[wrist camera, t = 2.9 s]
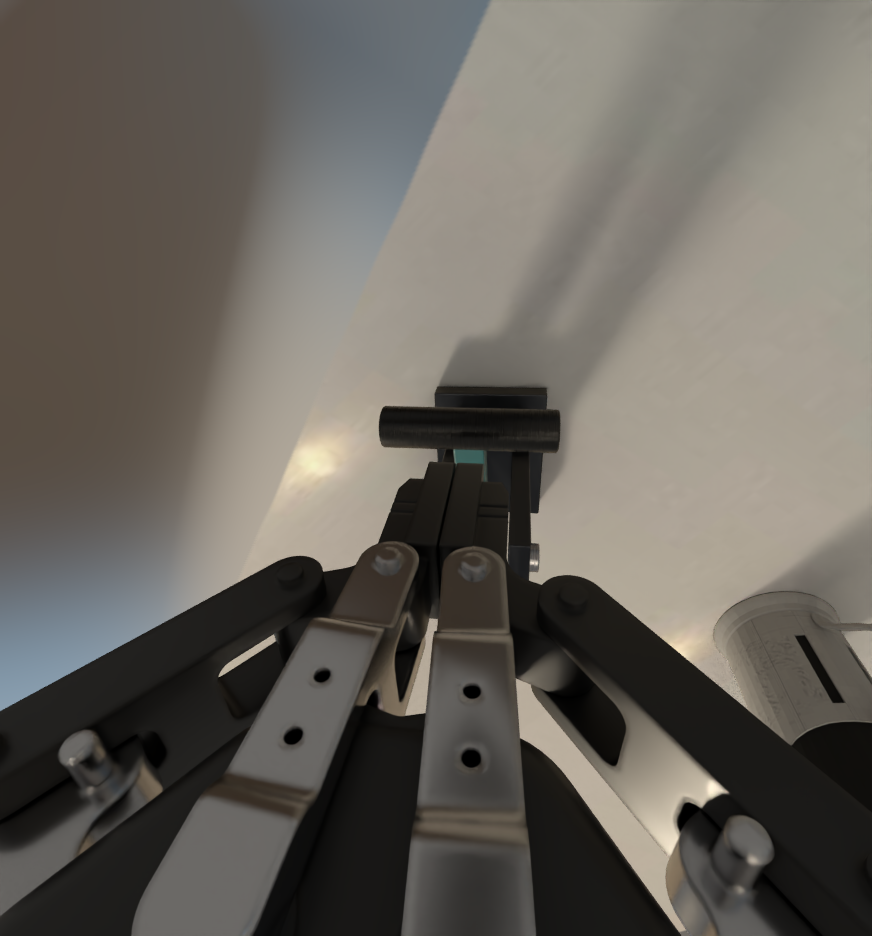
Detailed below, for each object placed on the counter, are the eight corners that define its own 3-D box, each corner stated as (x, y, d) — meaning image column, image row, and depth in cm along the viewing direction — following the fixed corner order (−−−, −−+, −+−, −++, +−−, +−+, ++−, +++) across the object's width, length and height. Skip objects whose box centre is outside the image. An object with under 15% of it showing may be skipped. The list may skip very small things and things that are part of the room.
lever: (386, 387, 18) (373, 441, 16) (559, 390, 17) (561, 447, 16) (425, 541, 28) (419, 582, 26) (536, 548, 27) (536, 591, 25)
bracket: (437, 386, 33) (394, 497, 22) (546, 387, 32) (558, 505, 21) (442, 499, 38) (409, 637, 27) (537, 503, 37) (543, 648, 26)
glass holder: (694, 654, 42) (768, 867, 29) (786, 523, 34) (939, 736, 22) (799, 679, 42) (919, 905, 29) (915, 552, 34) (1146, 785, 21)
